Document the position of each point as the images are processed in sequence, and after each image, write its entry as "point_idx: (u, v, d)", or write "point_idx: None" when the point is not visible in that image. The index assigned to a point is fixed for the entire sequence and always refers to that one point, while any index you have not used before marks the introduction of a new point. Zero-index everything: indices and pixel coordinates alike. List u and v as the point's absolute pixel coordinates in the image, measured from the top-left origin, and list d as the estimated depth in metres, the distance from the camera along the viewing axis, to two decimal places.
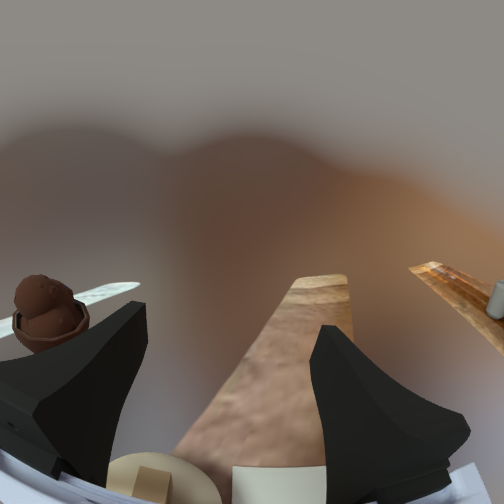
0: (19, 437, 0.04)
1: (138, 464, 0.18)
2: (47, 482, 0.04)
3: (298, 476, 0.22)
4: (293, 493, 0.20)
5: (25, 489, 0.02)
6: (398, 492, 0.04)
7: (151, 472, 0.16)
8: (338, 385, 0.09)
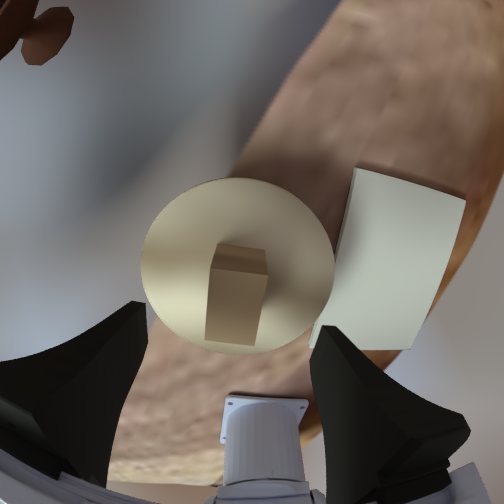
0: (19, 437, 0.04)
1: (202, 212, 0.14)
2: (47, 482, 0.04)
3: (433, 207, 0.17)
4: (418, 234, 0.18)
5: (25, 489, 0.02)
6: (398, 492, 0.04)
7: (232, 279, 0.12)
8: (337, 385, 0.09)
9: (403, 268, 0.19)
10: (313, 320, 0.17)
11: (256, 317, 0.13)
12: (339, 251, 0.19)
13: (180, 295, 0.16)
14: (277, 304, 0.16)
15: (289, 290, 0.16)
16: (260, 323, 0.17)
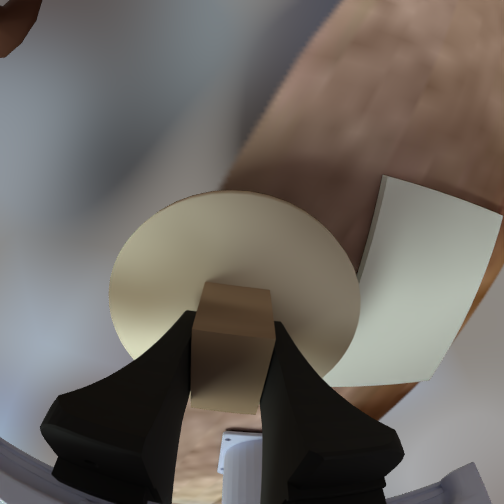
0: (94, 472, 0.04)
1: (184, 240, 0.10)
2: (47, 482, 0.04)
3: (470, 224, 0.13)
4: (452, 257, 0.14)
5: (25, 489, 0.02)
6: None
7: (225, 344, 0.08)
8: (271, 383, 0.08)
9: (432, 297, 0.15)
10: (328, 369, 0.13)
11: (258, 386, 0.09)
12: (361, 280, 0.15)
13: None
14: None
15: (301, 338, 0.12)
16: None
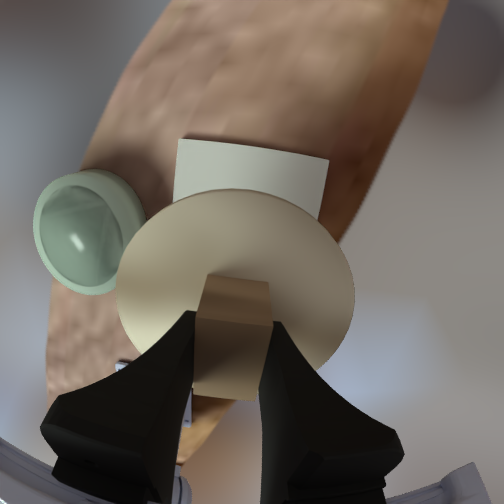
0: (94, 472, 0.04)
1: (187, 235, 0.11)
2: (47, 482, 0.04)
3: (278, 169, 0.18)
4: None
5: (25, 489, 0.02)
6: None
7: (226, 331, 0.09)
8: (271, 384, 0.08)
9: None
10: (325, 359, 0.14)
11: (257, 372, 0.10)
12: None
13: None
14: None
15: (298, 328, 0.13)
16: None
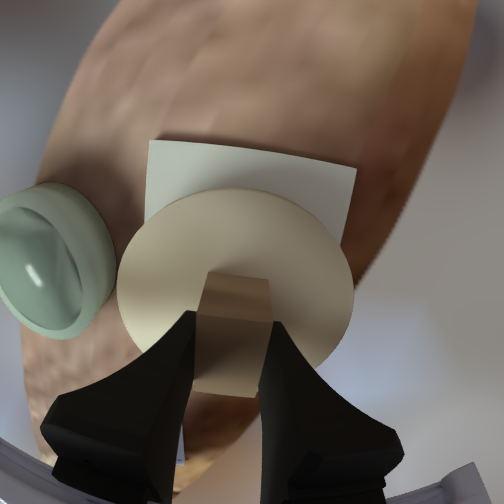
0: (94, 472, 0.04)
1: (188, 233, 0.11)
2: (47, 482, 0.04)
3: (287, 181, 0.13)
4: None
5: (25, 489, 0.02)
6: None
7: (226, 327, 0.09)
8: (271, 384, 0.08)
9: None
10: (324, 357, 0.14)
11: (257, 369, 0.10)
12: None
13: (165, 330, 0.13)
14: None
15: (297, 326, 0.13)
16: None
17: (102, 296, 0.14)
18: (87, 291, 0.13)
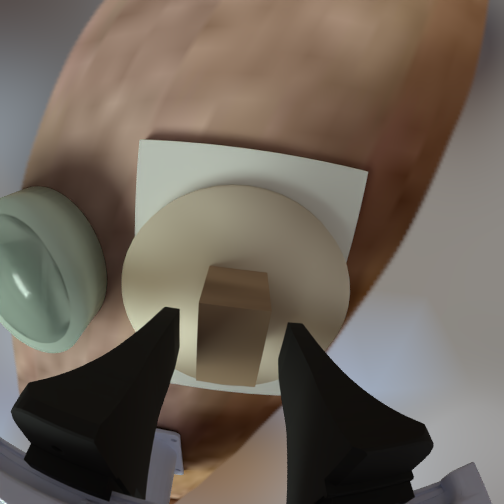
0: (62, 459, 0.04)
1: (191, 228, 0.12)
2: (47, 482, 0.04)
3: (292, 185, 0.12)
4: None
5: (25, 489, 0.02)
6: (348, 503, 0.04)
7: (227, 316, 0.10)
8: (298, 385, 0.09)
9: None
10: (323, 349, 0.14)
11: (257, 357, 0.11)
12: None
13: None
14: (281, 333, 0.14)
15: (296, 318, 0.13)
16: None
17: (92, 309, 0.13)
18: (75, 304, 0.11)
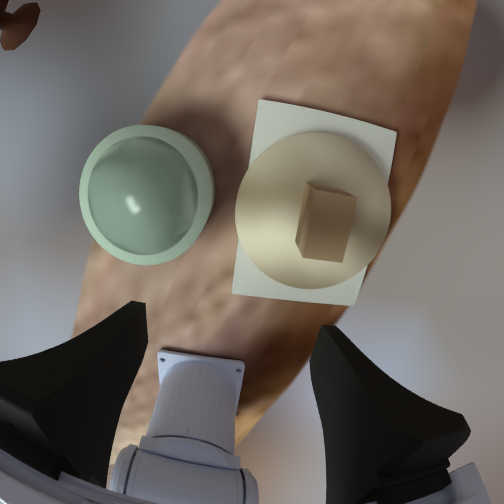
0: (19, 437, 0.04)
1: (295, 156, 0.17)
2: (47, 482, 0.04)
3: (354, 136, 0.18)
4: None
5: (25, 489, 0.02)
6: (398, 492, 0.04)
7: (332, 200, 0.15)
8: (338, 385, 0.09)
9: None
10: (374, 253, 0.20)
11: (346, 234, 0.16)
12: None
13: (269, 230, 0.19)
14: (348, 237, 0.19)
15: (358, 225, 0.19)
16: None
17: (207, 219, 0.18)
18: (202, 208, 0.17)
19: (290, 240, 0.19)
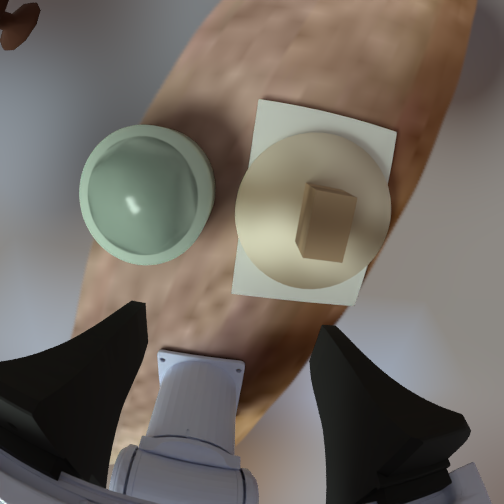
0: (19, 437, 0.04)
1: (295, 156, 0.17)
2: (47, 482, 0.04)
3: (354, 136, 0.18)
4: None
5: (25, 489, 0.02)
6: (398, 492, 0.04)
7: (332, 200, 0.15)
8: (338, 385, 0.09)
9: None
10: (374, 253, 0.20)
11: (346, 234, 0.16)
12: None
13: (269, 230, 0.19)
14: (348, 237, 0.19)
15: (358, 225, 0.19)
16: None
17: (207, 219, 0.18)
18: (202, 208, 0.17)
19: (290, 240, 0.19)
